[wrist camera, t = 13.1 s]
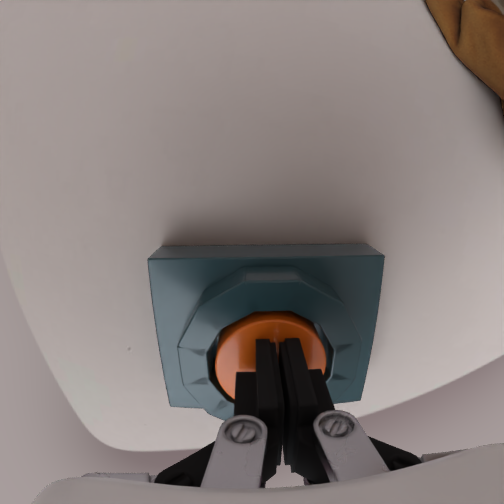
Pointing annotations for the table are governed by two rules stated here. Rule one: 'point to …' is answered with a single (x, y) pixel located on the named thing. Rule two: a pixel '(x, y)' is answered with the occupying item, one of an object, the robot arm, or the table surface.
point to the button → (263, 327)
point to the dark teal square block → (262, 309)
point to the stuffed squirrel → (475, 36)
